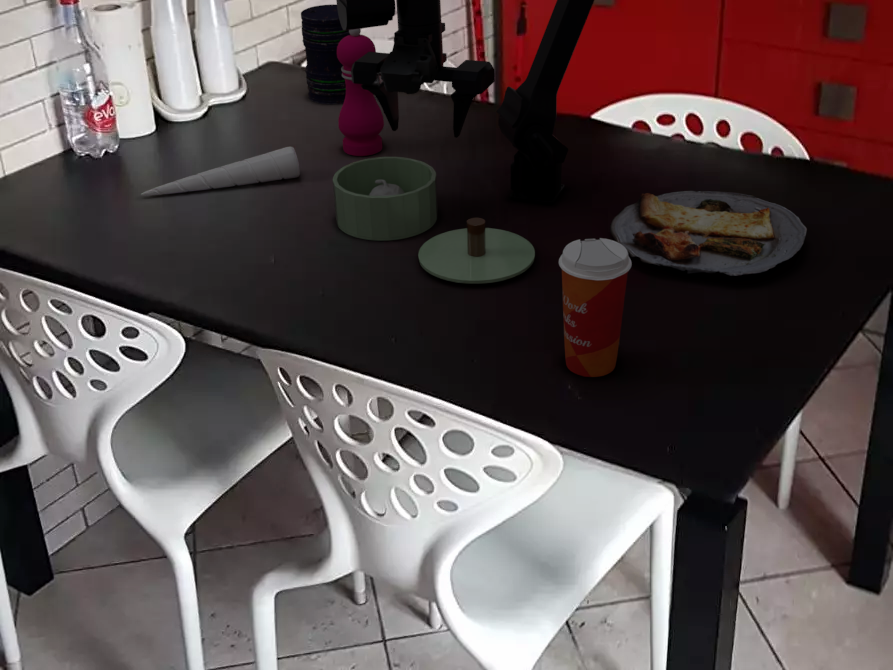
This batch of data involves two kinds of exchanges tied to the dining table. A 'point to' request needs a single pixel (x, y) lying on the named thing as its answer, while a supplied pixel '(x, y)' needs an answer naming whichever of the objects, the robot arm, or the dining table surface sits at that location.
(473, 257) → the lid
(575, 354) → the paper cup
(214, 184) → the unicorn horn
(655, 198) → the food plate
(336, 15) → the storage jar
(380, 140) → the pepper mill
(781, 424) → the dining table surface
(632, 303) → the dining table surface
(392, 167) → the squat sage green cylinder
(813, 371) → the dining table surface
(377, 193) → the garlic
